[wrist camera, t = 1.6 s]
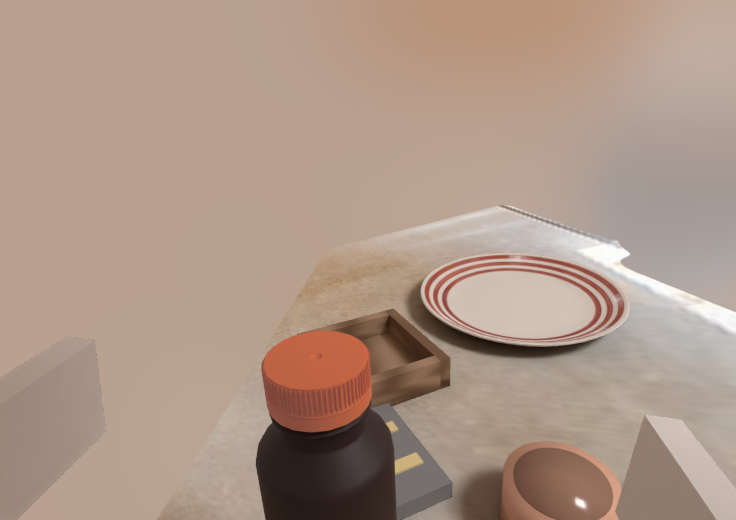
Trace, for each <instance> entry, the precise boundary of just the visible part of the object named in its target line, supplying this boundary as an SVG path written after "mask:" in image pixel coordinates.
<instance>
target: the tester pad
mask: <svg viewBox="0 0 736 520" xmlns="http://www.w3.org/2000/svg"><path fill="white" fill-rule="evenodd" d="M371 409H372V410H373V411H375V412H376V413H377V414H379V415H380V416H381V418H382V419H383V420H384V422H385V423H386V425H387V426H388V427H389V429H390V431H391V436H392V441H393V446H394V458H395V486H396V513H397V520H402V519H404V518H406V517H408V516H411V515H413V514H415V513H417V512H419V511H421V510H424V509H426V508H428V507H430V506H432V505H434V504H437V503H439V502H441V501H443V500H445V499H448V498H450V497H452V481H451V480H450V479H449V478H448V476H447V475H446V474H445V473H444V471H443V470H442V469H441V468H440V466H439V465H438V464H437V463H436V461H435V460H434V459H433V458H432V456H431V455H430V454H429V453H428V451H427V450H426V449H425V448H424V446H423V445H422V444H421V443H420V441H419V440H418V439H417V438H416V436H415V435H414V434H413V433H412V431H411V430H410V429H409V428H408V426H407V425H406V424H405V423H404V421H403V420H402V419H401V418H400V416H399V415H398V414H397V413H396V411H395V410H394V409H393V408H392V406H391V405H390V404H389V403H386V404H383V405H380V406H377V407H374V408H371Z"/></svg>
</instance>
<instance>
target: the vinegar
mask: <svg viewBox="0 0 736 520" xmlns="http://www.w3.org/2000/svg"><path fill="white" fill-rule="evenodd" d="M261 367H262V369H261V370H262V376H263V382H264V389H265V396H266V402H267V407H268V410H269V414H270V417H271V420H272V422H273V423H272V424H271V425H270V426H269V427H268V428H267V430H266V432H265V433H264V435H263V437H262V439H261V440H260V442H259V445H258V451H257V457H256V468H257V474H258V480H259V485H260V491H261V496H262V502H263V508H264V513H265V519H266V520H397V513H396V486H395V458H394V446H393V441H392V436H391V431H390V429H389V427H388V426H387V425H386V423H385V422H384V420H383V419H382V418H381V416H380V415H379V414H377V413H376V412H375V411H373V410H372V409H370V406H371V397H372V386H371V368H370V353H369V351H368V348H367V346H365V344H363V342H361V340H358V338H355V337H353V336H351V335H349V334H345V333H341V332H337V331H314V332H307V333H303V334H299V335H295V336H292V337H290V338H288V339H286V340H284V341H281V342H280V343H279V344H277V345H276V346H275V347H273V348H272V349H271V350H269V353H267V355H265V358H264V360H263V363H262V366H261Z"/></svg>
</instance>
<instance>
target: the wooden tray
mask: <svg viewBox="0 0 736 520" xmlns="http://www.w3.org/2000/svg"><path fill="white" fill-rule="evenodd" d="M314 331H337V332H341V333H345V334H349V335H351V336H353V337H355V338H358V340H361V342H363V344H365V346H367V348H368V351H369V353H370V368H371V386H372V397H371V406H370V409H371V408H374V407H377V406H380V405H383V404H386V403H389V404H390V405H391V406H393V405H396V404H399V403H402V402H405V401H407V400H410V399H413V398H416V397H419V396H422V395H424V394H427V393H430V392H433V391H436V390H439V389H441V388H444V387H447V386H450V357H449V356H447V355H446V354H445V353H444V352H443V351H442V350H441V349H439V348H438V347H437V346H436V345H435V344H434V343H432V342H431V341H430V340H429V339H428V338H427V337H426V336H424V335H423V334H422V333H421V332H420V331H419V330H417V329H416V328H415V327H414V326H413V325H412V324H410V323H409V322H408V321H407V320H406V319H405V318H404V317H402V316H401V315H400V314H399V313H398V312H397V311H395V310H394V309H390V310H386V311H383V312H379V313H375V314H371V315H368V316H364V317H360V318H356V319H353V320H349V321H345V322H341V323H337V324H334V325H330V326H326V327H322V328H319V329H315V330H311V331H307V332H314ZM307 332H304V333H307ZM300 334H303V333H300ZM297 335H299V334H297Z"/></svg>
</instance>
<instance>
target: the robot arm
mask: <svg viewBox="0 0 736 520" xmlns="http://www.w3.org/2000/svg"><path fill="white" fill-rule="evenodd" d="M105 432H106V425H105V416H104V408H103V401H102V393H101V385H100V377H99V369H98V361H97V353H96V345H95V340H91V339H83V338H76V337H69V336H66V337H65V338H63V339H61V340H60V341H58V342H56V343H55V344H53V345H52V346H50V347H48V348H47V349H45V350H44V351H42V352H40V353H39V354H37V355H36V356H34V357H32V358H31V359H29V360H28V361H26V362H24V363H23V364H21V365H19V366H18V367H16V368H15V369H13V370H11V371H10V372H8V373H7V374H5V375H3V376H2V377H1V378H0V520H17V519H18V518H19V517H20V516H21V515H22V514H23V513H24V512H25V511H26V510H27V509H28V508H29V507H30V506H31V505H32V504H33V503H34V502H35V501H36V500H37V499H39V498H40V497H41V495H42V494H44V493H45V492H46V490H48V489H49V488H50V487H51V486H52V485H53V484H54V483H55V482H56V481H57V480H58V479H59V478H60V477H61V476H62V475H63V474H64V473H65V472H66V471H67V470H68V469H69V468H70V467H71V466H72V465H73V464H74V463H75V462H76V461H77V460H78V459H79V458H80V457H81V456H82V455H83V454H84V453H85V452H86V451H87V450H88V449H89V448H90V447H91V446H92V445H93V444H94V443H95V442H96V441H97V440H98V439H99V438H100V437H101V436H102V435H103V434H104V433H105ZM615 512H616V514H617V517H618V519H619V520H736V488H735V487H734V486H733V485H732V483H731V482H730V481H729V479H728V478H727V477H726V476H725V474H724V473H723V472H722V471H721V469H720V468H719V467H718V466H717V464H716V463H715V462H714V461H713V459H712V458H711V457H710V455H709V454H708V453H707V452H706V450H705V449H704V448H703V447H702V445H701V444H700V443H699V442H698V440H697V439H696V438H695V437H694V435H693V434H692V433H691V432H690V430H689V429H688V428H687V426H686V425H685V424H684V423H683V421H682V420H679V419H672V418H664V417H657V416H650V415H644V419H643V422H642V425H641V428H640V432H639V435H638V438H637V442H636V445H635V448H634V451H633V455H632V458H631V461H630V464H629V468H628V471H627V474H626V478H625V481H624V484H623V487H622V491H621V494H620V497H619V501H618V504H617V507H616V510H615Z"/></svg>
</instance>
